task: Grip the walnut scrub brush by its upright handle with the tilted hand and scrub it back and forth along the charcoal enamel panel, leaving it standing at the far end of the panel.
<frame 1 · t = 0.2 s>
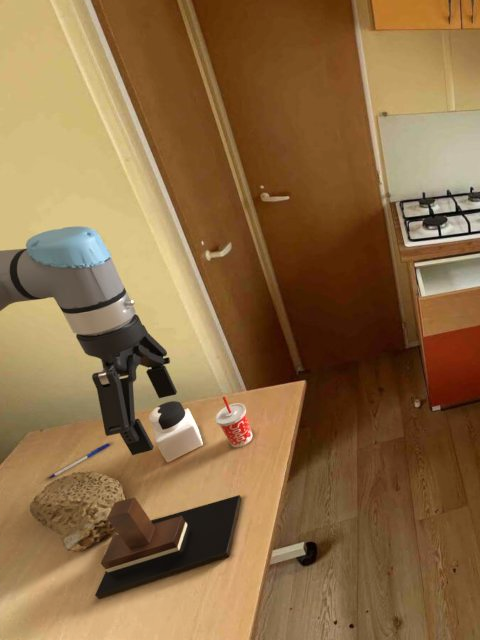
hand: (156, 421, 75), 26 cm above the table, tool pointing down, fingers open, 13 cm apart
sponge: (87, 516, 86), on the table
beverage cup: (242, 439, 103), on the table
brush: (149, 547, 79), point 1 cm above the table, touching panel
panel: (177, 544, 81), on the table
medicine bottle: (183, 445, 101), on the table
ballpoint pen: (82, 462, 98), on the table
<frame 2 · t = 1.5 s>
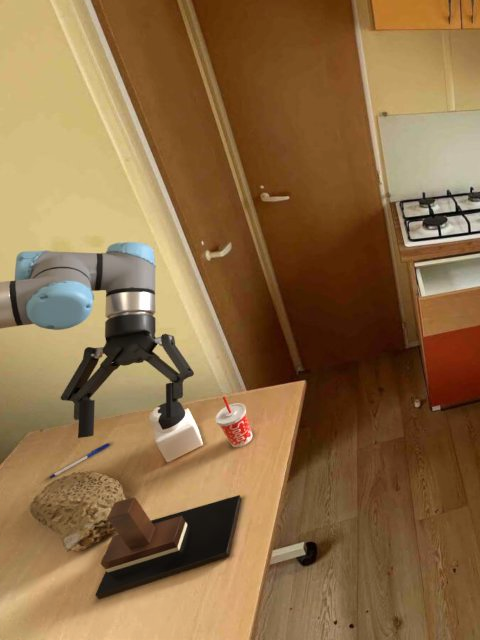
hand: (130, 427, 79), 22 cm above the table, tool tilted 45°, fingers open, 13 cm apart
nothing on the table moved.
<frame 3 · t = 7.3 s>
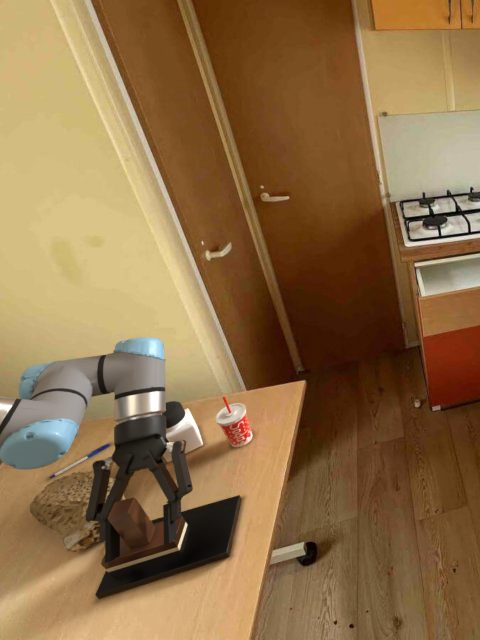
hand: (141, 550, 75), 6 cm above the table, tool tilted 45°, fingers open, 8 cm apart
brush: (149, 547, 79), point 1 cm above the table, touching gripper, panel
everything else where it was.
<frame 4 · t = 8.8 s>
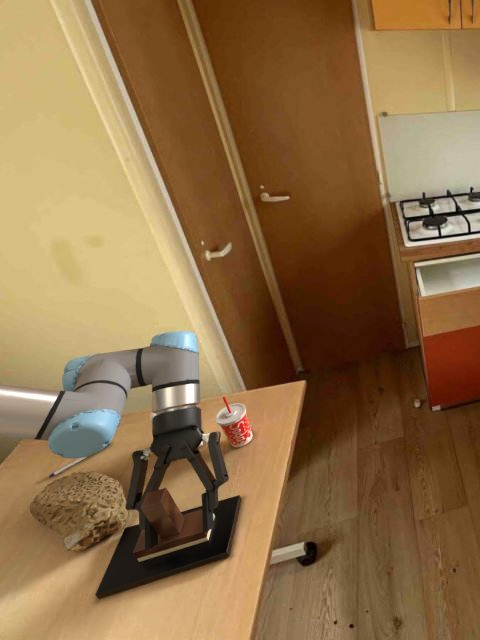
hand: (180, 538, 77), 6 cm above the table, tool tilted 45°, fingers open, 8 cm apart
brush: (178, 537, 81), point 2 cm above the table, touching gripper, panel
everything else where it was.
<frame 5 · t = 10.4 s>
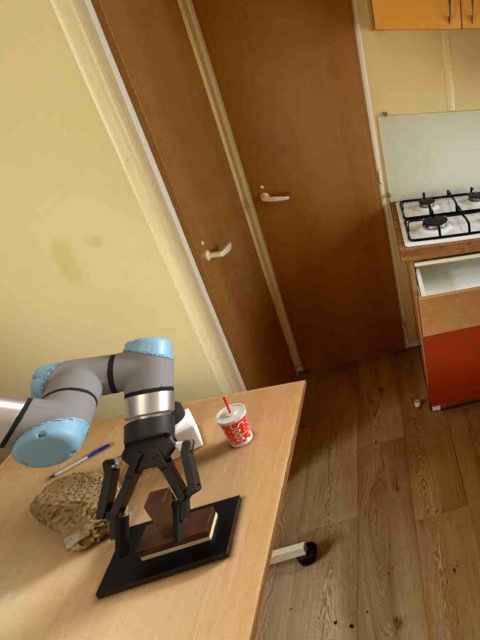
hand: (151, 548, 76), 6 cm above the table, tool tilted 45°, fingers open, 8 cm apart
nothing on the table moved.
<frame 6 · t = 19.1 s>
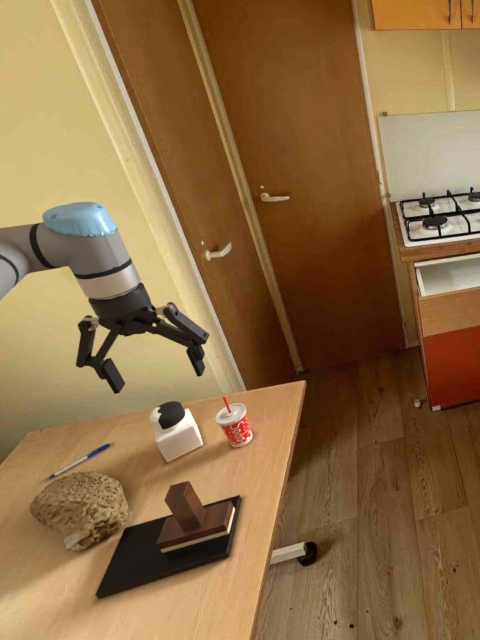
hand: (161, 380, 84), 27 cm above the table, tool pointing down, fingers open, 13 cm apart
brush: (200, 530, 82), point 1 cm above the table, touching panel
everything else where it was.
at the end: brush inside the target area (0.5 cm from its centre), point 1.5 cm above the table; brush tilted 0°; the gripper is holding nothing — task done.
